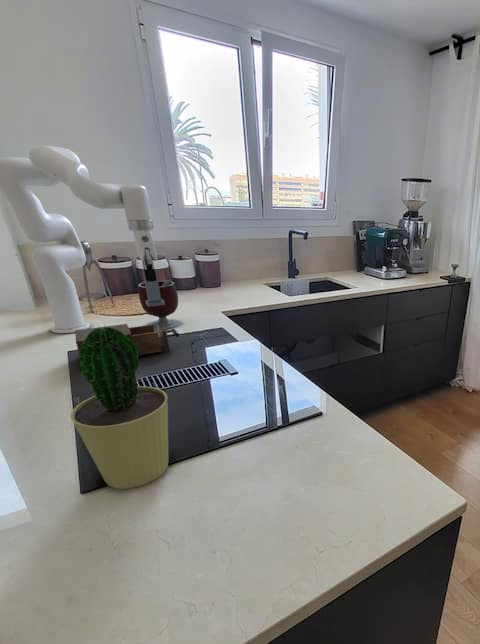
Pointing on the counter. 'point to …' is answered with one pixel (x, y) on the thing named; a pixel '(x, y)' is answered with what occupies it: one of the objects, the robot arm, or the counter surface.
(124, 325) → the cabinet
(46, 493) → the counter surface
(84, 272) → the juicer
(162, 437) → the potted cactus
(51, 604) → the counter surface
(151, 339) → the drawer
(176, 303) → the mate gourd
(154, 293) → the bottle opener
